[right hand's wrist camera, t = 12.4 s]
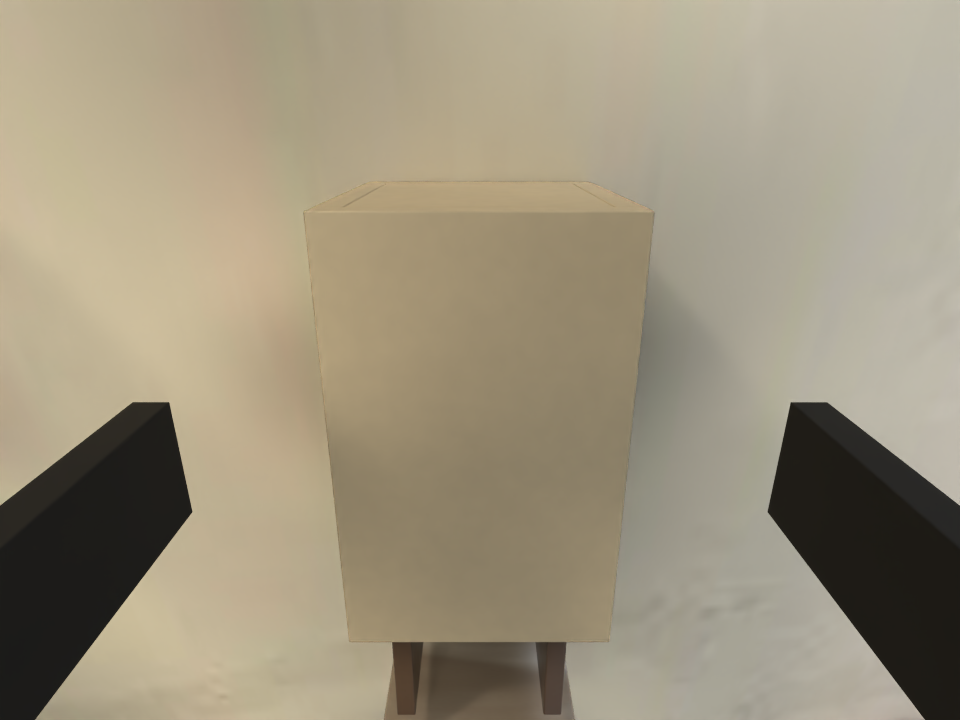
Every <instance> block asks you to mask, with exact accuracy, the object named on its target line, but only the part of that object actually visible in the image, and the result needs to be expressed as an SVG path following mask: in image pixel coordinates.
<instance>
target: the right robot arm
mask: <svg viewBox="0 0 960 720" xmlns="http://www.w3.org/2000/svg"><path fill="white" fill-rule="evenodd" d="M191 513H192V508H191V503H190V499H189V494H188V489H187V485H186V480H185V475H184V470H183V466H182V461H181V456H180V452H179V447H178V442H177V437H176V433H175V428H174V423H173V419H172V414H171V409H170V404H169V402H133V403H131V404H130V405H129V406H128V407H126V408H125V409H124V410H122V411H121V412H120V413H119V414H117V415H116V416H115V417H114V418H112V419H111V420H110V421H108V422H107V423H106V424H105V425H103V426H102V427H101V428H99V429H98V430H97V431H96V432H94V433H93V434H92V435H90V436H89V437H88V438H87V439H85V440H84V441H83V442H81V443H80V444H79V445H78V446H76V447H75V448H74V449H72V450H71V451H70V452H69V453H67V454H66V455H65V456H63V457H62V458H61V459H60V460H58V461H57V462H56V463H54V464H53V465H52V466H51V467H49V468H48V469H47V470H45V471H44V472H43V473H42V474H40V475H39V476H38V477H36V478H35V479H34V480H33V481H31V482H30V483H29V484H27V485H26V486H25V487H24V488H22V489H21V490H20V491H19V492H17V493H16V494H15V495H13V496H12V497H11V498H10V499H8V500H7V501H6V502H4V503H3V504H2V505H1V506H0V720H35V719H36V718H37V716H38V715H39V714H40V712H41V711H42V710H43V708H44V707H45V706H46V704H47V703H48V702H49V701H50V699H51V698H52V697H53V695H54V694H55V693H56V691H57V690H58V689H59V687H60V686H61V685H62V683H63V682H64V681H65V679H66V678H67V677H68V675H69V674H70V673H71V671H72V670H73V669H74V668H75V666H76V665H77V664H78V662H79V661H80V660H81V658H82V657H83V656H84V654H85V653H86V652H87V650H88V649H89V648H90V646H91V645H92V644H93V642H94V641H95V640H96V638H97V637H98V636H99V635H100V633H101V632H102V631H103V629H104V628H105V627H106V625H107V624H108V623H109V621H110V620H111V619H112V617H113V616H114V615H115V613H116V612H117V611H118V609H119V608H120V607H121V605H122V604H123V603H124V601H125V600H126V599H127V598H128V596H129V595H130V594H131V592H132V591H133V590H134V588H135V587H136V586H137V584H138V583H139V582H140V580H141V579H142V578H143V576H144V575H145V574H146V572H147V571H148V570H149V568H150V567H151V566H152V565H153V563H154V562H155V561H156V559H157V558H158V557H159V555H160V554H161V553H162V551H163V550H164V549H165V547H166V546H167V545H168V543H169V542H170V541H171V539H172V538H173V537H174V535H175V534H176V533H177V532H178V530H179V529H180V528H181V526H182V525H183V524H184V522H185V521H186V520H187V518H188V517H189V516H190V514H191ZM768 513H769V514H770V516H771V517H772V518H773V520H774V521H775V522H776V524H777V525H778V526H779V528H780V529H781V530H782V532H783V533H784V534H785V535H786V537H787V538H788V539H789V541H790V542H791V543H792V545H793V546H794V547H795V549H796V550H797V551H798V553H799V554H800V555H801V557H802V558H803V559H804V561H805V562H806V563H807V565H808V566H809V567H810V568H811V570H812V571H813V572H814V574H815V575H816V576H817V578H818V579H819V580H820V582H821V583H822V584H823V586H824V587H825V588H826V590H827V591H828V592H829V594H830V595H831V596H832V598H833V599H834V600H835V601H836V603H837V604H838V605H839V607H840V608H841V609H842V611H843V612H844V613H845V615H846V616H847V617H848V619H849V620H850V621H851V623H852V624H853V625H854V627H855V628H856V629H857V631H858V632H859V633H860V635H861V636H862V637H863V638H864V640H865V641H866V642H867V644H868V645H869V646H870V648H871V649H872V650H873V652H874V653H875V654H876V656H877V657H878V658H879V660H880V661H881V662H882V664H883V665H884V666H885V668H886V669H887V670H888V671H889V673H890V674H891V675H892V677H893V678H894V679H895V681H896V682H897V683H898V685H899V686H900V687H901V689H902V690H903V691H904V693H905V694H906V695H907V697H908V698H909V699H910V701H911V702H912V703H913V704H914V706H915V707H916V708H917V710H918V711H919V712H920V714H921V715H922V716H923V718H924V719H925V720H960V506H959V505H958V504H957V503H956V502H954V501H953V500H952V499H950V498H949V497H948V496H947V495H945V494H944V493H943V492H941V491H940V490H939V489H938V488H936V487H935V486H934V485H933V484H931V483H930V482H929V481H927V480H926V479H925V478H924V477H922V476H921V475H920V474H918V473H917V472H916V471H915V470H913V469H912V468H911V467H909V466H908V465H907V464H906V463H904V462H903V461H902V460H900V459H899V458H898V457H897V456H895V455H894V454H893V453H891V452H890V451H889V450H888V449H886V448H885V447H884V446H882V445H881V444H880V443H879V442H877V441H876V440H875V439H873V438H872V437H871V436H870V435H868V434H867V433H866V432H864V431H863V430H862V429H861V428H859V427H858V426H857V425H855V424H854V423H853V422H852V421H850V420H849V419H848V418H846V417H845V416H844V415H843V414H841V413H840V412H839V411H838V410H836V409H835V408H834V407H832V406H831V405H830V404H829V403H827V402H791V404H790V409H789V414H788V419H787V423H786V428H785V433H784V437H783V442H782V447H781V452H780V456H779V461H778V466H777V470H776V475H775V480H774V485H773V489H772V494H771V499H770V503H769V508H768Z"/></svg>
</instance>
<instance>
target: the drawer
mask: <svg viewBox="0 0 960 720" xmlns="http://www.w3.org/2000/svg"><path fill="white" fill-rule="evenodd" d="M392 645H393V659H394V661H393V667H392V673H391V679H390V685H389V692H388V698H387V704H386V710H385V716H384V720H575V717H574V711H573V705H572V699H571V692H570V686H569V680H568V674H567V668H566V662H565V654H566V642H392Z"/></svg>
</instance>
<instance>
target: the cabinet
mask: <svg viewBox="0 0 960 720" xmlns="http://www.w3.org/2000/svg"><path fill="white" fill-rule="evenodd" d="M304 222H305V231H306V241H307V250H308V259H309V269H310V278H311V287H312V297H313V306H314V316H315V325H316V334H317V344H318V353H319V362H320V372H321V381H322V391H323V400H324V409H325V419H326V428H327V438H328V447H329V456H330V466H331V475H332V484H333V494H334V503H335V513H336V522H337V531H338V541H339V550H340V559H341V569H342V578H343V588H344V597H345V606H346V616H347V625H348V635H349V641H350V642H609V640H610V630H611V621H612V611H613V602H614V592H615V583H616V574H617V564H618V555H619V545H620V536H621V526H622V517H623V507H624V498H625V488H626V479H627V469H628V460H629V450H630V441H631V431H632V422H633V412H634V403H635V393H636V384H637V374H638V365H639V355H640V346H641V337H642V327H643V318H644V308H645V299H646V289H647V280H648V270H649V261H650V251H651V242H652V232H653V223H654V211H653V210H650V209H648V208H646V207H644V206H642V205H640V204H638V203H635V202H633V201H631V200H629V199H626V198H624V197H622V196H620V195H618V194H615V193H613V192H611V191H609V190H607V189H604V188H602V187H600V186H598V185H596V184H593V183H590V182H368V183H366V184H363V185H361V186H359V187H357V188H354V189H352V190H350V191H348V192H345V193H343V194H341V195H339V196H337V197H334V198H332V199H330V200H328V201H325V202H323V203H321V204H319V205H317V206H314V207H312V208H310V209H308V210H306V211H304Z"/></svg>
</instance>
